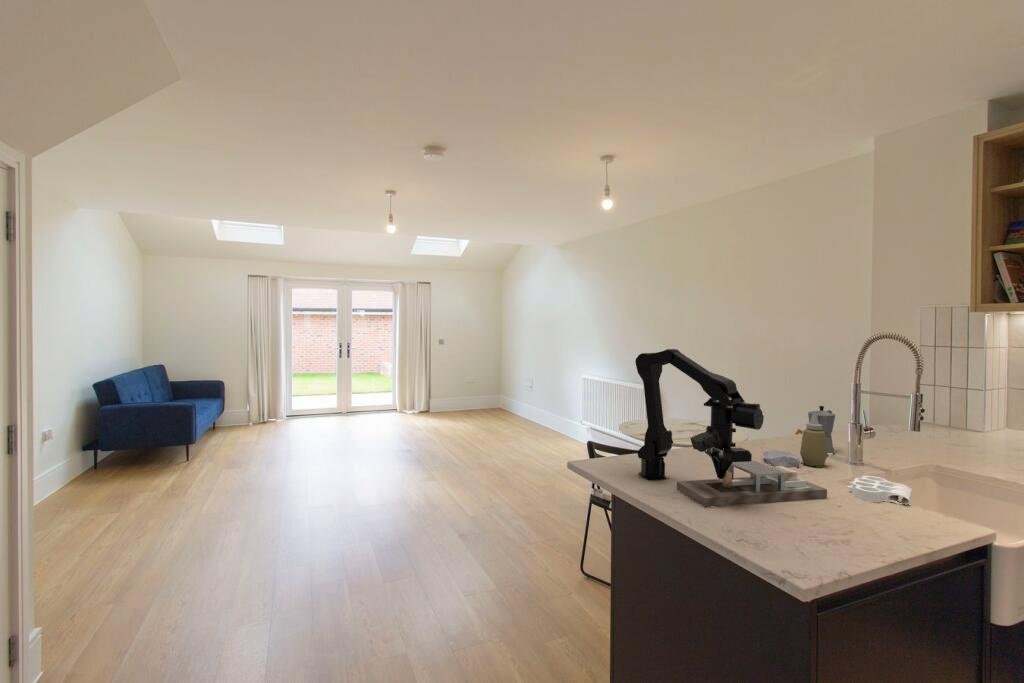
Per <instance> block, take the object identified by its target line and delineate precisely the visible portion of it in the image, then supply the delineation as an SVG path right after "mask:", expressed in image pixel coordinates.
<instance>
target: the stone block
mask: <svg viewBox="0 0 1024 683" xmlns="http://www.w3.org/2000/svg"><path fill="white" fill-rule="evenodd" d="M762 456H763V457H764V459H765V461H766V464H768V463H769V464H771V465H770V466H772V465H774V466H773V467H775V466H782V467H785V468H791V467H799V468H800V458H799V456H798V455H797V454H792V453H791V451H789V450H788V451H784V450H777V449H774V450H773V449H771V450H768V451H767V450H765V451H763V453H762ZM769 464H768V465H769Z"/></svg>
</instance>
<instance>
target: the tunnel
mask: <svg viewBox="0 0 1024 683" xmlns="http://www.w3.org/2000/svg"><path fill="white" fill-rule="evenodd" d="M772 467H773V466H769V465H768V464H767V465H766V464H765V463H764V464H763V463H762V462H758V461H756V460H752V461H750V462H733V463H732V464H731V465H730V467H729V469H728V470H727V472H731V473H732V480H733V478H735V477H734V471H735V470H734V468H736V469H738V470H740V471H742V472H745V473H747V474H750V476H749V477H750V478H753V492H754V493H760V476H775V475H778V490H779V491H781V492H782V491H785V472H782V471H780V470H777V469H774V468H772Z"/></svg>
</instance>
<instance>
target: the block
mask: <svg viewBox="0 0 1024 683" xmlns="http://www.w3.org/2000/svg"><path fill="white" fill-rule="evenodd" d="M771 467H772V468H774V469H777V470H780V471H782V472H785V481H797V478H798V472H797V471H795V470H793V469H790V468H788V467H782V466H778V467H775V466H771ZM768 477H770V478H772V479H775V480H777V481H778V475H775V476H768Z"/></svg>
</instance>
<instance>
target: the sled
mask: <svg viewBox="0 0 1024 683" xmlns="http://www.w3.org/2000/svg"><path fill="white" fill-rule="evenodd" d="M806 481H807V480H805V479H803V478H799V477H797V481H785V487H800V486H806ZM768 483H770V484H772V485H774V486H777V487H778V481H777V480H775V479H772V478H770V477H768V476H760V484H768ZM738 485H753V478H751V479H735V480H732V473H731V472H726V474H725V475H724V477H723V486H724V487H732V486H738Z"/></svg>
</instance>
